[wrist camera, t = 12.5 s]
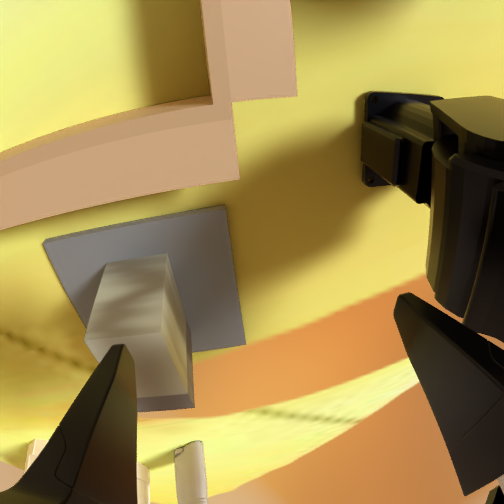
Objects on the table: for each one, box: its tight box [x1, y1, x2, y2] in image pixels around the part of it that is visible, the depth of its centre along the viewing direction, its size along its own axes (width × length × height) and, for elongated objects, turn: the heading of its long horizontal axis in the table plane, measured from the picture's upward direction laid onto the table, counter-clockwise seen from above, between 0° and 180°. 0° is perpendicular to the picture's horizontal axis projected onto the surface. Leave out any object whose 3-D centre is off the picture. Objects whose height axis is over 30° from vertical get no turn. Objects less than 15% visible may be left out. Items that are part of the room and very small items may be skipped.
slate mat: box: [43, 205, 246, 353], centre depth 23 cm, size 13×13×1 cm
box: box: [84, 253, 195, 412], centre depth 20 cm, size 4×8×7 cm, turn 5°
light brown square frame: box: [0, 0, 297, 230], centre depth 10 cm, size 23×23×4 cm
